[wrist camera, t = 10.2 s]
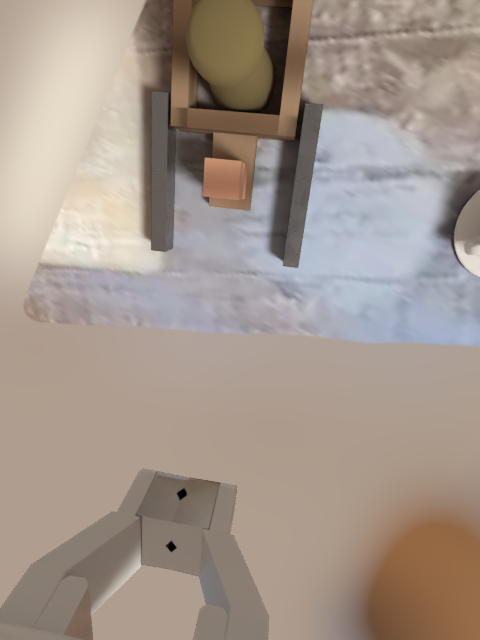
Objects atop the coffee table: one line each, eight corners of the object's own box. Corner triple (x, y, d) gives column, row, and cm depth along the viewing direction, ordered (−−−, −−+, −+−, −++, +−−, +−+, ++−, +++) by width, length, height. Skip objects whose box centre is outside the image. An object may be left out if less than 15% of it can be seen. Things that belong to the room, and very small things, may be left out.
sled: (185, -21, 30) (159, -72, 24) (315, -15, 29) (321, -67, 23) (178, 202, 36) (156, 203, 30) (284, 213, 35) (283, 217, 29)
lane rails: (161, 98, 33) (151, 91, 31) (320, 110, 32) (323, 104, 30) (159, 246, 38) (151, 250, 36) (297, 263, 37) (297, 267, 35)
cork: (247, 133, 33) (228, 107, 23) (197, 89, 33) (155, 42, 22) (290, 73, 31) (289, 14, 21) (237, 24, 31) (210, -61, 20)
